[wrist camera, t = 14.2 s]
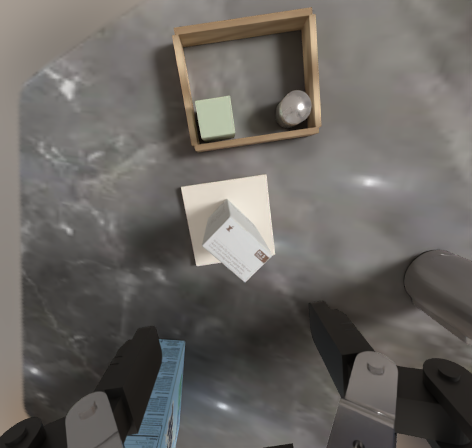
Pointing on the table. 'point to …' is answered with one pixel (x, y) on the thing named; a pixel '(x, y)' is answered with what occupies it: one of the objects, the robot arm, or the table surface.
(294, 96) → the grey ball
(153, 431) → the gum box
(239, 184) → the ceramic pad
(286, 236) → the table surface
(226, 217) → the skincare box
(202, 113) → the sage block
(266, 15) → the oak corral
